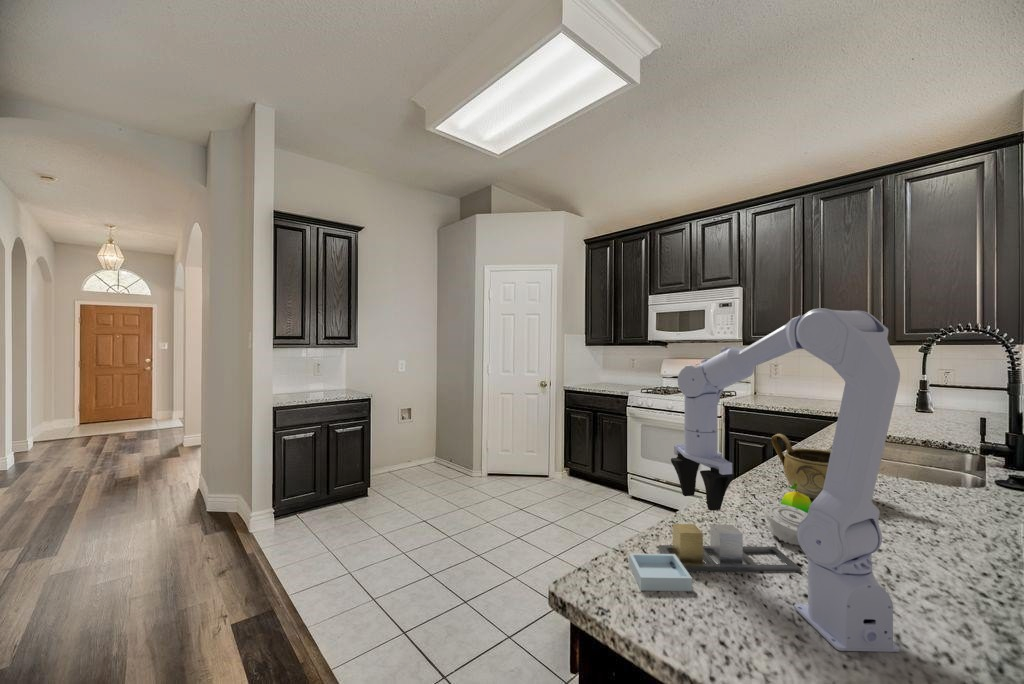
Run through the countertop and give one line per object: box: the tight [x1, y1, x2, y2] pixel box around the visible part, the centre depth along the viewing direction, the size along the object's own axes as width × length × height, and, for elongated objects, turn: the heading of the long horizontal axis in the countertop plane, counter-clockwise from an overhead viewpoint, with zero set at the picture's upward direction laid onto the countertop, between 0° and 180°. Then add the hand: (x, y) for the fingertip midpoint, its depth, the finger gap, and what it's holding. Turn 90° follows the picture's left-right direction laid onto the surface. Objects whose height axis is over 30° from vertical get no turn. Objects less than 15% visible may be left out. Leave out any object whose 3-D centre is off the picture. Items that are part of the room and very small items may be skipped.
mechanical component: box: [763, 503, 808, 546], centre depth 90 cm, size 10×4×10 cm
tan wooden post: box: [672, 523, 704, 564], centre depth 81 cm, size 4×4×6 cm
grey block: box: [709, 523, 744, 564], centre depth 81 cm, size 4×4×6 cm
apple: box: [779, 481, 813, 513], centre depth 99 cm, size 7×6×9 cm
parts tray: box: [628, 553, 693, 592], centre depth 75 cm, size 8×8×2 cm
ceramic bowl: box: [771, 433, 831, 500], centre depth 115 cm, size 22×17×15 cm
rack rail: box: [658, 544, 802, 573], centre depth 81 cm, size 8×22×1 cm, turn 88°
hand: (700, 502), depth 83 cm, fingers open, 7 cm apart
